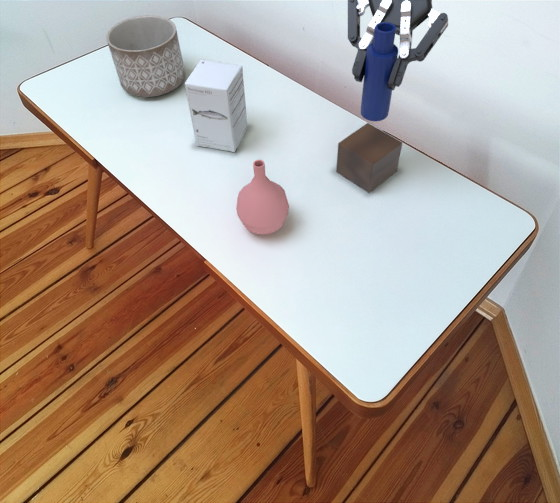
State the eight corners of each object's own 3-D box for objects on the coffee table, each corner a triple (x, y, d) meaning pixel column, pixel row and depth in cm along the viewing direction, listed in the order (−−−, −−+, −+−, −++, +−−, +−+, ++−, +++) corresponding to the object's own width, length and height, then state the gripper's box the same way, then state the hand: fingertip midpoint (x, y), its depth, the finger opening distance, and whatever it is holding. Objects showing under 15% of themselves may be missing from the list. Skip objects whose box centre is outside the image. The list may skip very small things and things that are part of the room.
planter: (187, 62, 106) (178, 13, 98) (184, 99, 98) (173, 48, 90) (126, 66, 106) (111, 17, 98) (118, 103, 98) (101, 53, 90)
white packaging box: (195, 147, 89) (182, 83, 79) (211, 121, 94) (200, 57, 84) (235, 154, 88) (226, 89, 78) (249, 127, 92) (243, 63, 82)
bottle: (393, 112, 75) (408, 26, 65) (375, 125, 73) (387, 39, 63) (373, 101, 77) (383, 15, 67) (354, 112, 75) (362, 27, 65)
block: (397, 171, 84) (402, 142, 79) (369, 193, 81) (373, 164, 76) (364, 151, 87) (367, 122, 82) (336, 172, 84) (338, 143, 80)
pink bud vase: (248, 249, 75) (240, 190, 65) (231, 214, 79) (222, 153, 70) (297, 233, 76) (296, 173, 67) (278, 199, 81) (275, 138, 71)
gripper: (358, -72, 65) (318, 65, 68) (472, -55, 61) (423, 90, 64) (369, -43, 72) (332, 79, 75) (472, -27, 68) (428, 103, 71)
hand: (374, 83), depth 69 cm, fingers closed on bottle, 4 cm apart
